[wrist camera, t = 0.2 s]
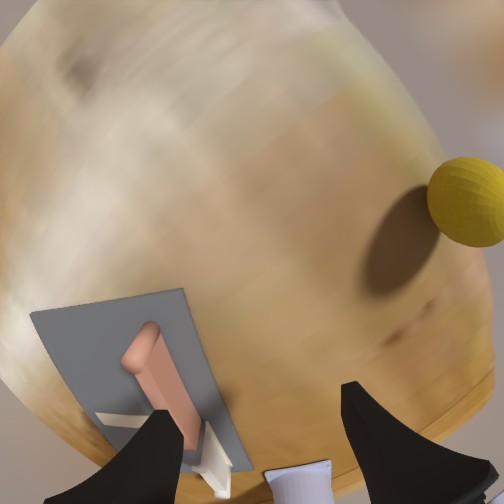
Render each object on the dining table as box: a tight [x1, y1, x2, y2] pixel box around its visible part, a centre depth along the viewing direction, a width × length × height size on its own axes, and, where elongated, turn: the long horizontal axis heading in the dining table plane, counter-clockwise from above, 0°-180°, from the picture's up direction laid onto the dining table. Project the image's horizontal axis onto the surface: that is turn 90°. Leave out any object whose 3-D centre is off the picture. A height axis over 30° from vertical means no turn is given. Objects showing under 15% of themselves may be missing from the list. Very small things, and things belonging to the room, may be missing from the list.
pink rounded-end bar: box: [121, 321, 206, 466], centre depth 17 cm, size 12×2×4 cm, turn 12°
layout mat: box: [29, 288, 254, 499], centre depth 19 cm, size 24×16×5 cm, turn 12°
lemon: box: [427, 157, 504, 247], centre depth 13 cm, size 6×6×8 cm
